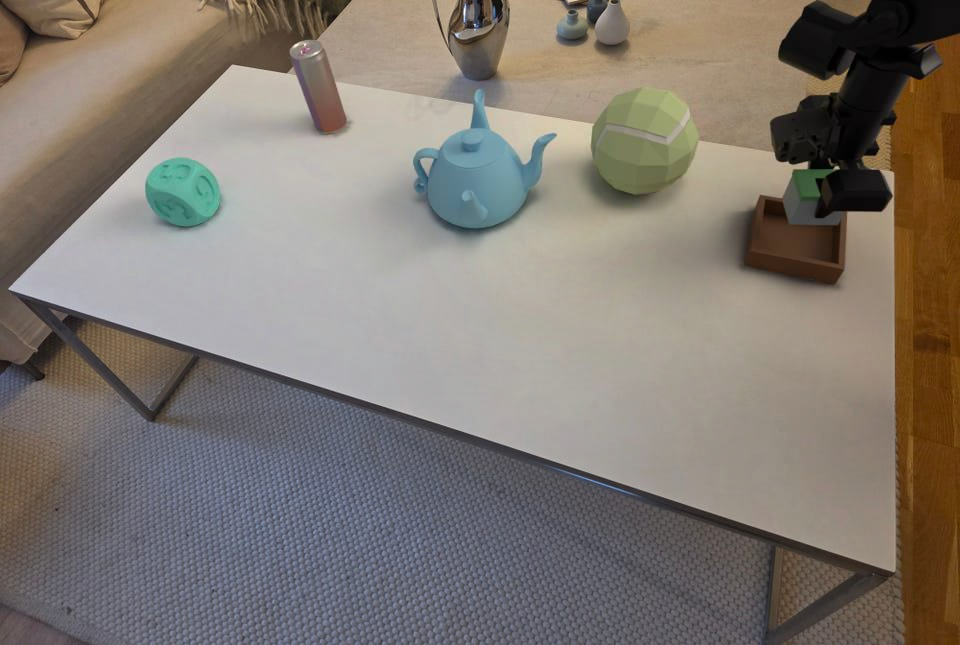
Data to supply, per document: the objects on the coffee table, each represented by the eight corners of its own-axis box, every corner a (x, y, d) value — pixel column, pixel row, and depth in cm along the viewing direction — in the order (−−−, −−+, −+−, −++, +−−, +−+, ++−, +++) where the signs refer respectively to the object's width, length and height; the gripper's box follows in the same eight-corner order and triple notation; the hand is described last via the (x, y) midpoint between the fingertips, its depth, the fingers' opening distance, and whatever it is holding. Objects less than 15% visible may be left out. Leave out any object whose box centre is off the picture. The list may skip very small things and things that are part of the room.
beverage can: (310, 133, 109) (281, 56, 97) (325, 113, 112) (299, 37, 100) (338, 137, 108) (313, 60, 95) (352, 117, 111) (329, 40, 99)
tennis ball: (610, 141, 100) (619, 58, 88) (697, 164, 95) (720, 79, 83) (574, 197, 93) (579, 114, 81) (666, 225, 88) (686, 141, 76)
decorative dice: (184, 193, 102) (160, 155, 95) (226, 195, 101) (205, 157, 94) (163, 226, 97) (136, 189, 91) (207, 228, 96) (182, 191, 90)
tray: (753, 210, 88) (760, 194, 86) (838, 225, 85) (847, 209, 82) (744, 265, 82) (750, 250, 80) (835, 284, 79) (844, 269, 76)
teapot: (559, 195, 94) (561, 130, 84) (474, 260, 87) (465, 197, 77) (485, 150, 102) (479, 86, 92) (402, 206, 95) (386, 143, 85)
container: (829, 198, 79) (844, 169, 75) (838, 226, 76) (855, 196, 72) (780, 198, 80) (793, 168, 76) (788, 225, 77) (801, 196, 73)
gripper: (773, 52, 71) (739, 157, 83) (807, 151, 60) (761, 254, 73) (873, 49, 69) (822, 157, 82) (925, 151, 58) (858, 256, 71)
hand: (814, 203), depth 77 cm, fingers closed on container, 5 cm apart
